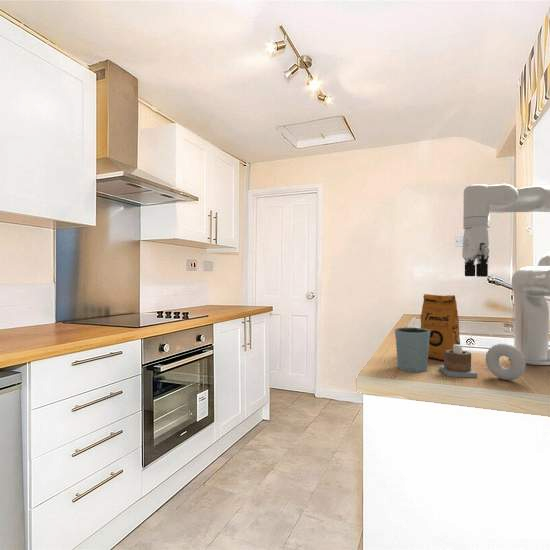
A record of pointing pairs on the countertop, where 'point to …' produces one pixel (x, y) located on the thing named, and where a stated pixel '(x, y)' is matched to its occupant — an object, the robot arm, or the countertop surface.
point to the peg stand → (471, 373)
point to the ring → (457, 361)
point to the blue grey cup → (412, 349)
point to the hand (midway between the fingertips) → (475, 276)
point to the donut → (515, 358)
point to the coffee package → (440, 323)
